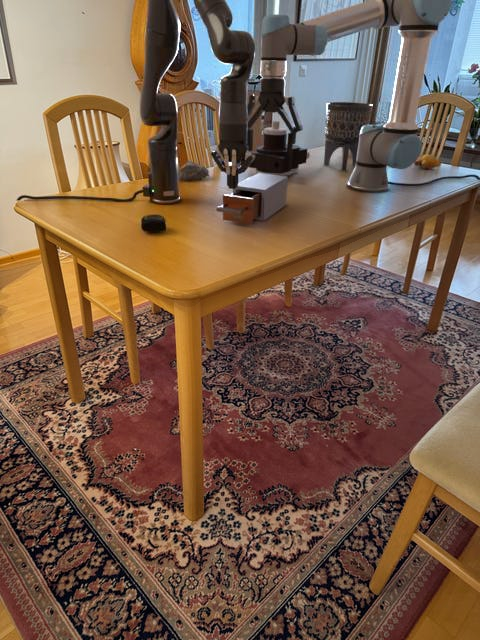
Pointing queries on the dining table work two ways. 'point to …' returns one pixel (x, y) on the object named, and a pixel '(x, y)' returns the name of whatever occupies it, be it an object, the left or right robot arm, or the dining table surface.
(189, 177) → the rock
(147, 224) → the tape measure
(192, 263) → the dining table surface
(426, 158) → the toy
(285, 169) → the mechanical component
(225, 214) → the drawer
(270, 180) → the grey rectangular box
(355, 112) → the planter
